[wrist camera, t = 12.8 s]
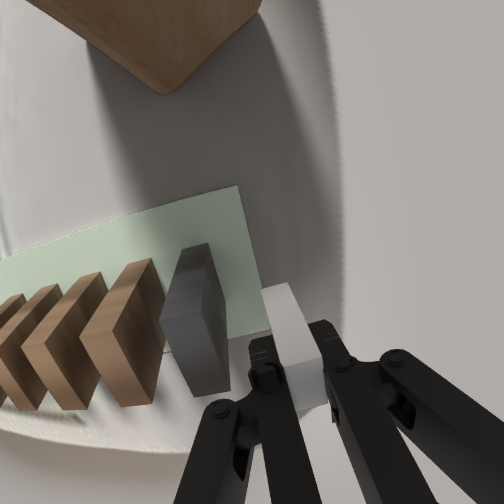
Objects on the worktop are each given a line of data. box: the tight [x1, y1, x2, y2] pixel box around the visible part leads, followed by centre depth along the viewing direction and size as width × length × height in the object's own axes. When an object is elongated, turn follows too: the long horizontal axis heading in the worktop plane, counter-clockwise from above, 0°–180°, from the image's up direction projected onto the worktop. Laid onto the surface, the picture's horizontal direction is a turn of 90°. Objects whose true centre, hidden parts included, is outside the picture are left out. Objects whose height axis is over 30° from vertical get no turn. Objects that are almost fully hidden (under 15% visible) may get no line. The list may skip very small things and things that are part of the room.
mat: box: [0, 185, 270, 353], centre depth 24 cm, size 12×26×1 cm, turn 103°
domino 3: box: [79, 258, 166, 407], centre depth 19 cm, size 5×2×10 cm, turn 13°
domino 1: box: [0, 283, 63, 411], centre depth 19 cm, size 5×2×10 cm, turn 13°
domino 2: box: [21, 272, 109, 410], centre depth 19 cm, size 5×2×10 cm, turn 13°
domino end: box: [0, 293, 27, 407], centre depth 19 cm, size 5×2×10 cm, turn 13°
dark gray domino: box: [159, 243, 231, 398], centre depth 19 cm, size 5×2×10 cm, turn 13°
